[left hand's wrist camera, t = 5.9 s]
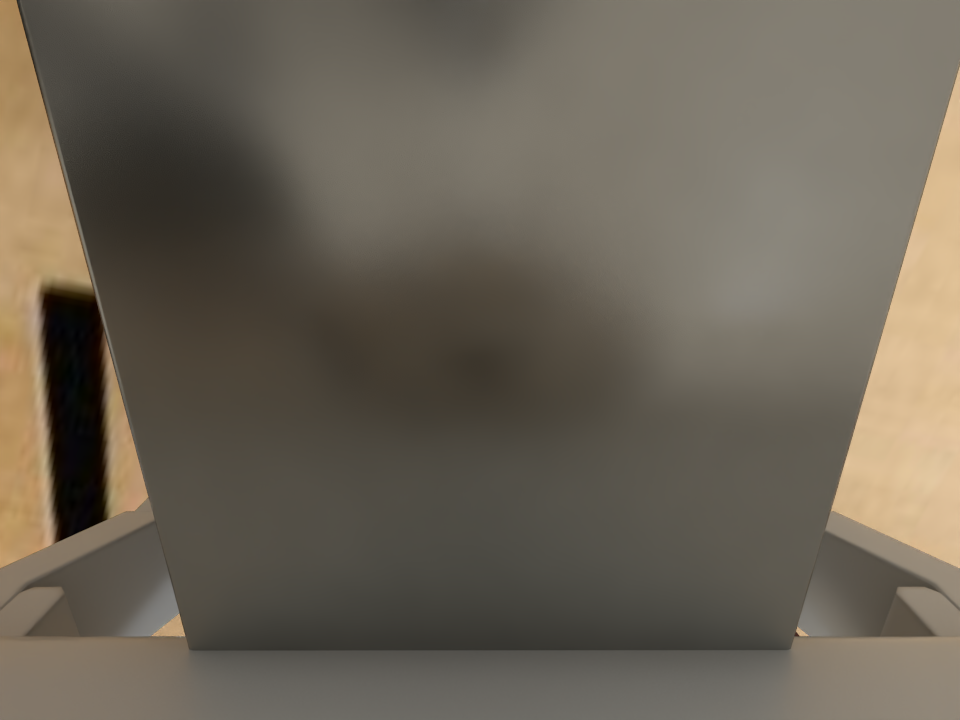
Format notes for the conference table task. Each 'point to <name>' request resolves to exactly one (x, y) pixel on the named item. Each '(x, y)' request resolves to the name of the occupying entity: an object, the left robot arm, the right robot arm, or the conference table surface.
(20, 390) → the conference table surface
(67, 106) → the box
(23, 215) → the conference table surface
